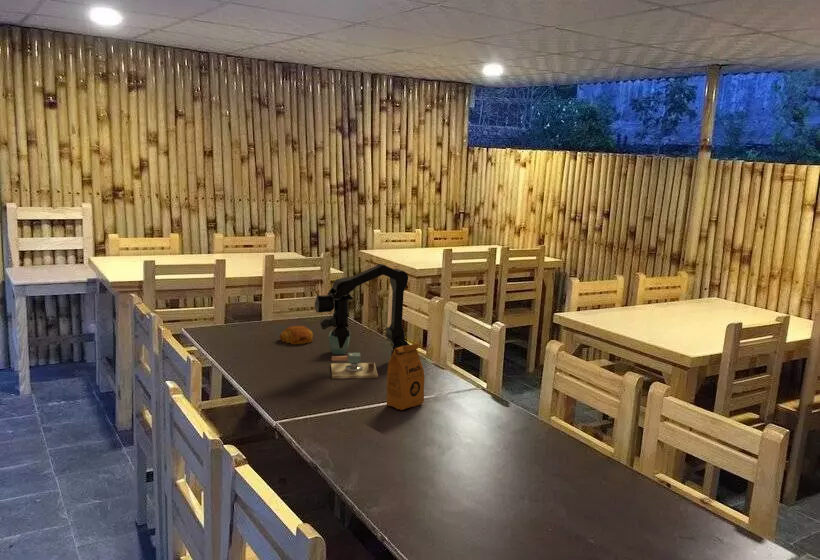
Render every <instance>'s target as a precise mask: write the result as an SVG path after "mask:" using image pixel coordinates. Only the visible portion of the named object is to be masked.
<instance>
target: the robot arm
mask: <svg viewBox="0 0 820 560" xmlns="http://www.w3.org/2000/svg"><path fill="white" fill-rule="evenodd" d="M380 276H386V277H388V278H389V284H390V286H391V290H392V293H391V294H392V295H391V298H392V300H391V315H390V316H391V320H390V325H389V327H387V326H386V327H385V330H386V331H385V337H386V340H387V341H388V343H390V346H392V347H391V350H390V357H391V356H392V354H393V352H394V349H395V348H398V347H401V346H406V345H411V343H408V341H406V336H405V330H404V327H403V313H404V312H403V309H404V292H405V291H406V288H407V286H408V281H409V275H408V273H407V272H406V271H404V270H402V269H399V268H394V269H393V268H391V267H389V266H387V265H385V264H382V263H378V264H377V265H375V266H373V267H370V268H367V269H366V270H364V271H362V272H359V273H357V274H355V275H352V276H348V277H347V276H346V277H341V278H338V279H335V280H334V281H333V282H332V287H331V288H330V290H329V291H328V292H327V295H325V294H324V295H323V294H322V295H320V294H319V295H318V294H317V295H316V298H315V302H314V310H315V312H316V313H330V312H332V311H333V313H332V315H331V316H328V317H324V318H323V319H320V320H319V323H320V326H321V329H322V330H327V328H331V327H332V328H334V329H333V331H334V337H338V342H339V347H340V348H343V345H344V343H345V341H346V339H347V337H349V336H350V337H351V333H350V332H351V331H350V328H349V317H350V316H349V314H350V313H349V301H353V300H354V297H353V296H352V295H351V292H353V291H354V290H355V289H356V288H358V287H359V286H361V285H363V284H365V283H367V282H369V281H372V280H374V279H376V278H378V277H380Z"/></svg>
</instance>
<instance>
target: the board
mask: <svg viewBox="0 0 820 560" xmlns="http://www.w3.org/2000/svg"><path fill="white" fill-rule="evenodd" d="M373 363H374V371H368V364H369V362H361V363H358V365H360V366H362V367H363V370H362V371H359V372H349V371H346V370H345V367H346V366H348V365H350V364H348V362H347V363H346V362H344V363H342V362H341V363H340V362H337V363H334V362H333V363H331V364H330V367H331V379H370V378H371V379H376V378H379V374H378V371H377V367H376V363H375V362H373Z"/></svg>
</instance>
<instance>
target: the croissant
mask: <svg viewBox="0 0 820 560" xmlns="http://www.w3.org/2000/svg"><path fill="white" fill-rule="evenodd" d="M279 338H280V340H281V342H283V343H285V344H288V343H291V344H292V345H295V346H297V345H296V344H299V345H306V344H305V343H307V344H309V343H312V342H313V341H314V340H313V338H314V334H313V331H311V329H309V328H308V327H306V326H305V325H294V326H287V327H286V328H284V329H283V331H282V332H281V333H280V335H279ZM291 344H290V345H291Z"/></svg>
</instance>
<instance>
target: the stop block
mask: <svg viewBox="0 0 820 560" xmlns="http://www.w3.org/2000/svg"><path fill="white" fill-rule="evenodd" d="M368 363H369V364H368V371H374V363H375V362H370V361H369V362H368Z"/></svg>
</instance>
